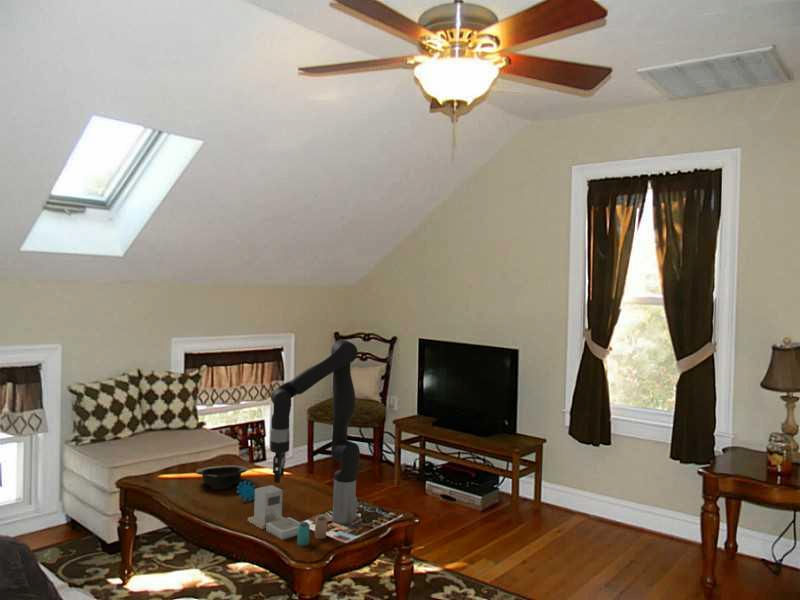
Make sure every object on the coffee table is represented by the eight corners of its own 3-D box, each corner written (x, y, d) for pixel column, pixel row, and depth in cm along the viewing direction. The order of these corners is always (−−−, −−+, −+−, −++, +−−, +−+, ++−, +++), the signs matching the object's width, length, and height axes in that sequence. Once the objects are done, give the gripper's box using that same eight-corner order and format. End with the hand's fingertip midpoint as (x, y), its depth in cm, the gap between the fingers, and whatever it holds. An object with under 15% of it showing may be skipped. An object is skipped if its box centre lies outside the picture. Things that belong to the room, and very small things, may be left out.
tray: (289, 524, 267) (289, 517, 267) (305, 532, 259) (305, 525, 259) (266, 530, 260) (266, 523, 260) (281, 539, 252) (282, 532, 252)
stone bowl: (221, 496, 297) (221, 475, 297) (184, 488, 310) (183, 469, 310) (260, 481, 318) (259, 462, 318) (223, 475, 331) (222, 457, 331)
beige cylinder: (321, 533, 260) (322, 514, 259) (328, 537, 257) (329, 517, 256) (312, 536, 257) (313, 516, 256) (319, 539, 253) (320, 519, 253)
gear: (240, 500, 288) (235, 480, 294) (234, 507, 291) (230, 486, 297) (263, 499, 295) (257, 479, 301) (257, 505, 298) (251, 486, 304)
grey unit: (272, 514, 277) (273, 483, 277) (287, 522, 269) (288, 490, 269) (247, 521, 269) (248, 488, 268) (262, 529, 261) (263, 496, 260)
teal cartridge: (304, 540, 253) (305, 520, 252) (311, 543, 250) (311, 523, 249) (294, 542, 250) (295, 522, 249) (301, 546, 246) (302, 526, 246)
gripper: (273, 434, 269) (273, 473, 270) (267, 443, 255) (266, 484, 256) (292, 434, 269) (291, 473, 270) (286, 444, 255) (285, 485, 256)
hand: (279, 479), depth 263 cm, fingers open, 8 cm apart
